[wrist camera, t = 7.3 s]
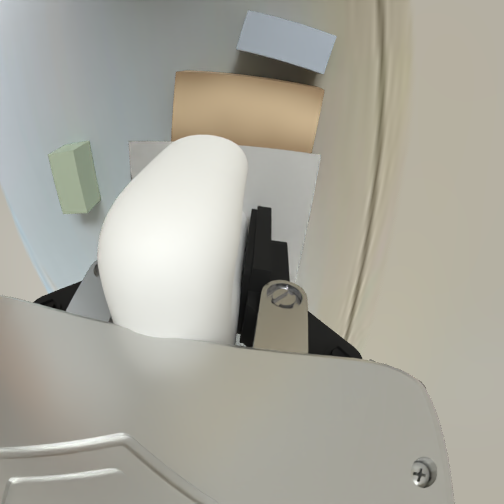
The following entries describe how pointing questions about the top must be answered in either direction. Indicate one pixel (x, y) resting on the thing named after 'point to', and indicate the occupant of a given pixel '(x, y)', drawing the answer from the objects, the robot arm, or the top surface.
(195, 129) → the oak pedestal
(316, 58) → the brick slate
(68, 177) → the brick sage
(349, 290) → the top surface
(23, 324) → the robot arm
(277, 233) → the figurine
